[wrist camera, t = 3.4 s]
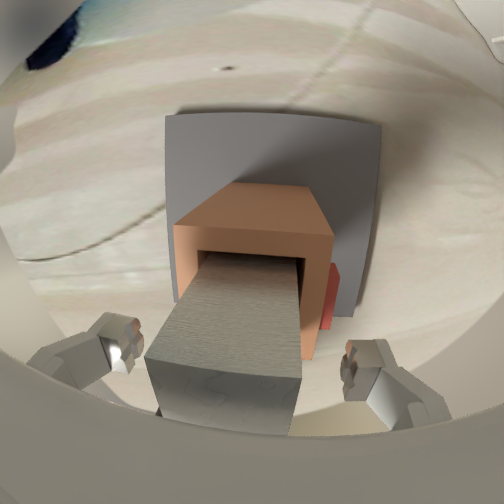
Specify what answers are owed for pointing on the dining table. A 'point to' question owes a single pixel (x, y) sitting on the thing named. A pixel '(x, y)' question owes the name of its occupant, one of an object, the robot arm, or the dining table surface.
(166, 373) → the block
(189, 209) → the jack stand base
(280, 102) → the dining table surface
